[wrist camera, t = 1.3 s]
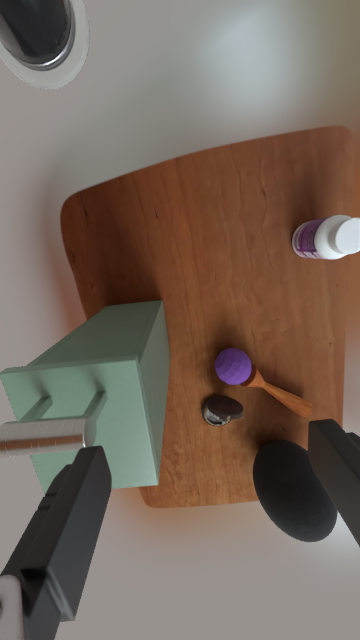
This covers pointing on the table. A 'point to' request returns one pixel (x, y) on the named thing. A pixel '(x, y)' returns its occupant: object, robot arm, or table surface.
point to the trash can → (125, 352)
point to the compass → (221, 410)
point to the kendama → (255, 379)
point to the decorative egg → (293, 491)
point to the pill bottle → (327, 237)
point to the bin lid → (80, 418)
